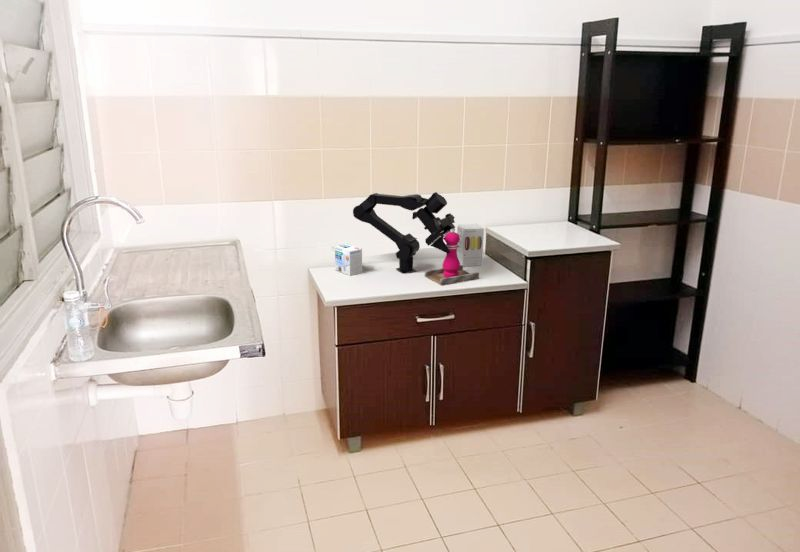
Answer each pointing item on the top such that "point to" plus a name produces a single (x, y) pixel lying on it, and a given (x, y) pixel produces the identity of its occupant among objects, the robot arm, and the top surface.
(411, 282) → the top surface
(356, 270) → the light bulb box
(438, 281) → the track board
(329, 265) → the top surface
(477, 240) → the supplement box
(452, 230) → the pepper mill
